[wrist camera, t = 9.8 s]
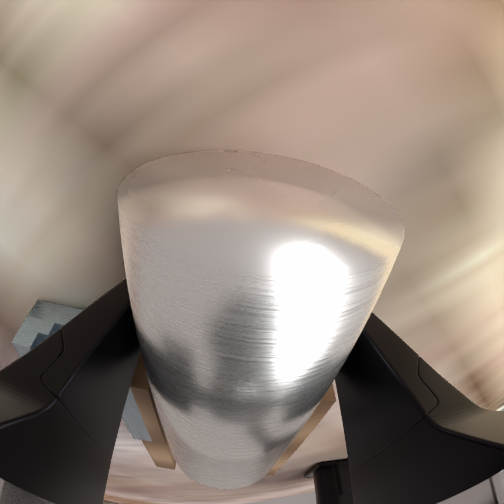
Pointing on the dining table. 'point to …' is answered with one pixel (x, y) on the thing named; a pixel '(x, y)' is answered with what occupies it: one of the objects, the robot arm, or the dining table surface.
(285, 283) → the silver metal tumbler
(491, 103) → the dining table surface
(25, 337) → the v block
